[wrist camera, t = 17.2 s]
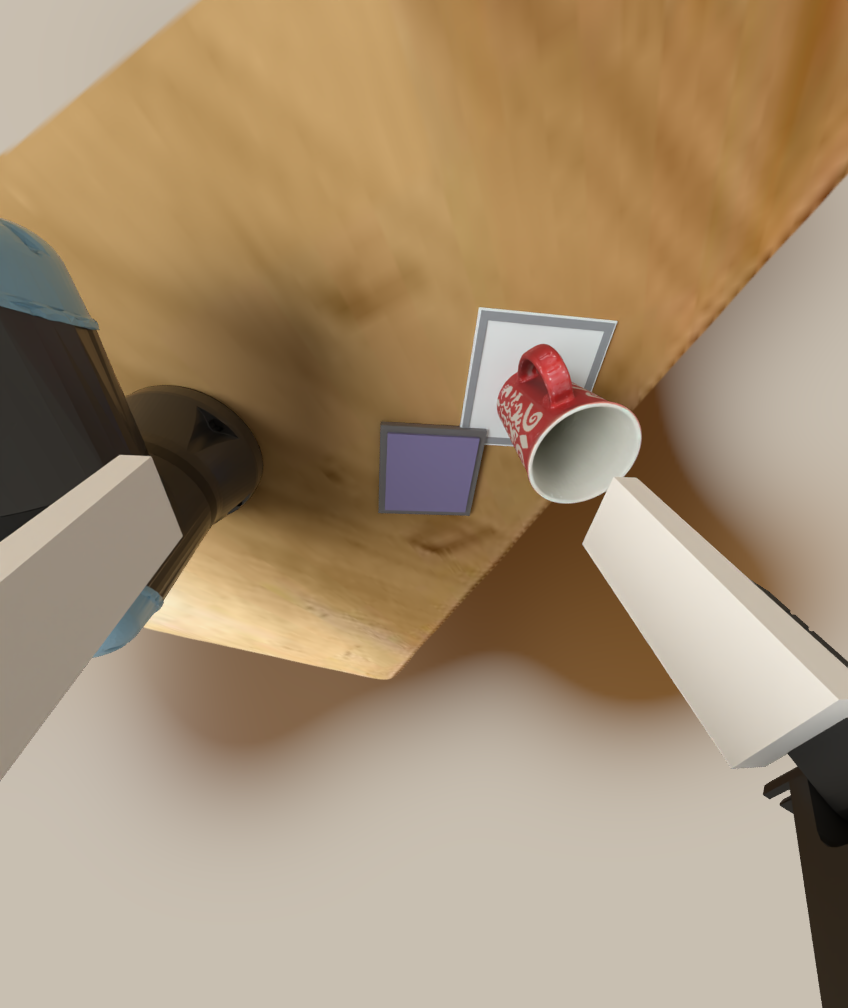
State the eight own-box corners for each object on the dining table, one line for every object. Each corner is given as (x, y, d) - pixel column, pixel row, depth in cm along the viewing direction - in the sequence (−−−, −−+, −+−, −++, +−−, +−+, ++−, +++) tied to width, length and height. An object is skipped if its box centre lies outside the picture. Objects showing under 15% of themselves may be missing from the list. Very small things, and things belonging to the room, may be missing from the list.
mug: (576, 419, 40) (646, 479, 29) (501, 450, 42) (541, 519, 31) (555, 304, 33) (636, 328, 22) (466, 347, 35) (501, 389, 24)
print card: (457, 442, 41) (457, 443, 41) (479, 307, 33) (479, 307, 33) (569, 448, 43) (570, 449, 42) (615, 320, 35) (618, 321, 34)
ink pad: (378, 508, 46) (378, 514, 45) (380, 421, 39) (380, 426, 38) (468, 511, 47) (470, 517, 46) (485, 427, 40) (488, 432, 39)
